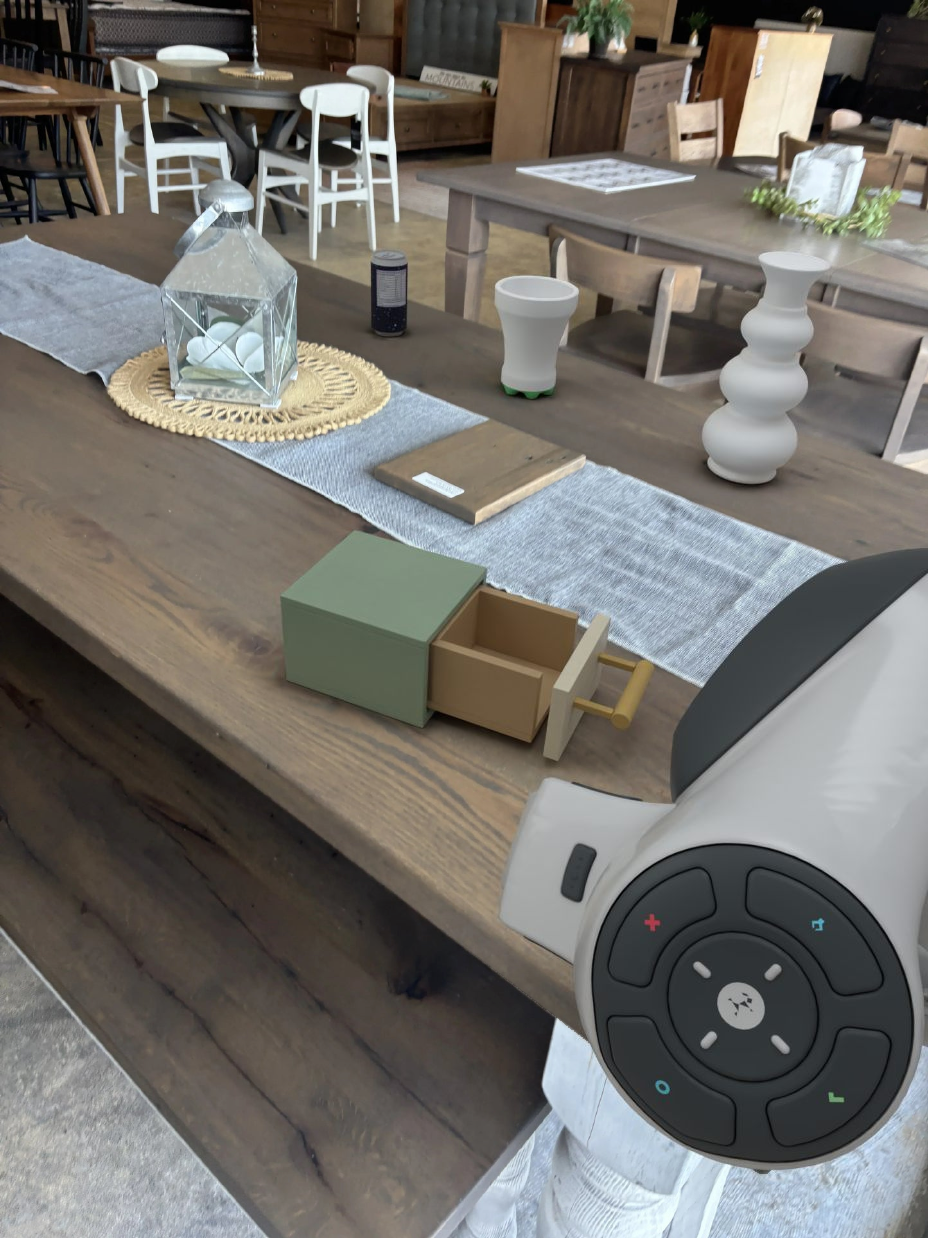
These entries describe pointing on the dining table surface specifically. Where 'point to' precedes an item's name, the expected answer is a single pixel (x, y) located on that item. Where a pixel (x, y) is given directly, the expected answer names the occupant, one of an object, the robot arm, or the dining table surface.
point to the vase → (765, 375)
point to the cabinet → (373, 622)
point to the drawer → (525, 669)
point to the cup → (533, 330)
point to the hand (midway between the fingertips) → (719, 897)
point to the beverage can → (389, 292)
